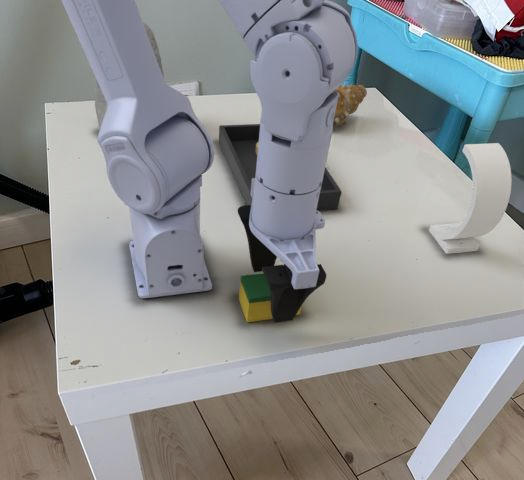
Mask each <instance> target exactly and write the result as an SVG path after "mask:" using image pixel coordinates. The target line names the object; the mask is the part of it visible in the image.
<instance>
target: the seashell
mask: <svg viewBox="0 0 524 480" xmlns="http://www.w3.org/2000/svg"><path fill="white" fill-rule="evenodd" d="M334 92H337V93H338V94H339V96H338V101H337V106H336V111H335V116H334V121H333V126H339V125H344V124H345V122H346V120H347V119H348V118H349V115H352V114H354V113H356V111H358V109H359V105H360V104H361V103H363V101H364V99H365V97H366V96H367V94H368V92H367V88H366V87H365V86H364V85H362V84H357V85H355V84H348V85H346V84H341V85H340V86H339V87H338V88H337V89H336V90H335V91H334Z"/></svg>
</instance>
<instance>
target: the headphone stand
mask: <svg viewBox="0 0 524 480" xmlns="http://www.w3.org/2000/svg"><path fill="white" fill-rule="evenodd" d="M461 152H462V153H463V154H464V156H465V158H466V159H467V161H468V164H469V167H470V171H471V178H472V179H471V180H472V192H471V199H470V203H469V206H468V210H467V212H466V215H465V216H464V218H463V220H462V221H461V222H452V223H451V222H450V223H439V224H430V226H429V228H428V232H429V234H431V236H432V237H433V238H434V240H435V241H436V242H437V244H438V245H439V247H440V248H441V249H442V250H443V252H444V253H445V254H446V255H449V254H459V253H460V254H461V253H469V252H477V251H479V248H480V244H479V243H478V242H477V240H476V239H475V238H479V237H483V236H485V235H487V234H489V233H490V232H491V231H493V230H494V229H495V228H496V227H497V225H498V224H499V223H500V221H502V218H503V217H504V215H505V213H506V211H507V208H508V205H509V201H510V197H511V192H512V169H511V168H512V167H511V164H510V160H509V157H508V155H507V153H506V151H505V149H504V148H503V146H502V145H501V144H500V143H499V142H493V143H489V142H487V143H466V144H464V146H463V148H462V151H461Z"/></svg>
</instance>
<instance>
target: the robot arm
mask: <svg viewBox="0 0 524 480" xmlns="http://www.w3.org/2000/svg"><path fill="white" fill-rule="evenodd" d="M60 1H61V3H62V5H63V8H64V10H65V12H66V15H67V16H68V18H69V21H70V24H71V25H72V28H73V30H74V32H75V35H76V37H77V39H78V41H79V44H80V46H81V47H82V48H81V49H82V51H83V52H84V55H85V57H86V59H87V62H88V64H89V66H90V68H91V71H92V73H93V76H94V75H95V77H96V79H97V81H98V84H99V86H100V88H101V90H102V93H103V95H104V97H105V99H106V102H107V110H106V113H105V116H104V119H103V122H102V125H101V128H100V130H98V134H97V143H98V145H99V147H100V149H101V151H102V154H103V157H104V160H105V167H106V174H107V178H108V180H109V184H110V186H111V188H112V190H113V192H114V193H115V194H116V196H117V197H118V199H119V200H120V201H121V202H123V204H124V205H125V206H126V207H129V217H130V224H131V230H132V231H131V232H132V240H131V241H129V243H128V247H129V251H130V252H129V253H130V257H131V262H132V268H133V275H134V279H135V285H136V290H137V296H138V298H140V299H150V298H158V297H168V296H174V295H175V296H176V295H182V294H190V293H191V294H192V293H199V292H207V291H211V290H212V289H213V284H212V281H211V277H210V274H209V270H208V268H207V264H206V261H205V259H204V251H205V250H204V248H205V247H204V242H203V240H202V239H203V238H202V236H201V187H202V186H203V174H205V173H206V172H208V171H209V169H210V168H211V167H212V164H213V162H214V158H215V148H214V143H213V141H212V137H211V136H210V133H209V131H208V130H207V128H206V127H205V126H204V125H203V123H202V122H201V121H200V120H199V119H198V116H197V115H196V113H195V111H194V108H193V107H192V104H191V101H190V98H189V97H188V96H187V95H185V94H184V93H182V92H181V91H179V90H178V89H175V88H174V87H172V86H170V85H169V84H167V83H166V81H165V77H164V78H163V75H162V73H161V70H160V67H159V65H158V62H157V59H156V57H155V54H154V51H153V49H152V46H151V43H150V41H149V38H148V35H147V32H146V30H145V27H144V24H143V23H144V22H143V19H142V17H141V14H140V11H139V9H138V6H137V3H136V0H60ZM218 2H219V3H220V5H221V6H222V8H223V9H224V11H225V13H226V15H227V16H228V18H229V19H230V20H231V22H232V24H233V26H234V27H235V28H236V30H237V32H238V33H239V35H240V36H241V38H242V40H243V42H244V43H245V44H246V46H247V47H248V50H250V52H251V53H252V54H253V56H254V58H253V59H250V61H249V74H250V79H251V80H250V81H251V83H252V87H253V89H254V91H255V93H256V95H257V97H258V99H259V101H260V105H261V114H260V122H259V124H260V132H259V143H258V154H257V165H256V175H255V178H252V183H251V194H250V195H251V197H252V204H251V205H246V204H245V205H242V206H241V205H240V207H238V208H237V215H238V216H239V219H240V221H241V223H242V225H243V228H244V231H245V234H246V239H247V245H248V251H249V259H250V264H251V268H252V271H253V273H254V274H256V273H263V274H264V276H265V279H266V281H267V283H268V285H269V289H270V295H271V314H272V318H273V319H272V320H273V323H275V324H276V323H277V324H278V323H283V322H289V321H293V320H294V319H295V317H296V316H297V315H296V314H297V312H298V310H299V309H300V307H301V305H302V306H303V304H304V302H306V300H307V298H309V296H310V295H311V294H313V293H314V292H315V291H316V290H318V289H319V288H320V287H322V286H323V285H324V284H325V283H326V280H327V273H326V271H325V269H324V267H323V264H322V263H319V264H318V263H317V257H316V235H317V234H316V231H317V230H321V229H324V227H325V226H326V225H325V224H326V219H325V217H324V216H323V214H322V213H321V212H320V211H316V209H317V204H318V199H319V194H320V190H321V185H322V181H323V176H324V171H325V167H326V166H327V160H328V156H329V152H330V151H329V150H330V146H331V140H332V136H333V131H334V125H333V121H334V116H335V111H336V106H337V101H338V96H339V94H338V93H337V92H334V91H335V90H336V89H337V88H338V87H339V86H340V85H343V84H344V83H345V81H346V80H347V79H348V77H350V75H351V73H352V72H353V70H354V68H355V65H356V62H357V59H358V50H359V49H358V48H359V47H358V46H359V44H358V36H357V33H356V30H355V27H354V25H353V23H352V17H351V14H350V13H349V12H348V10H346V8H344V7H343V6H341V5H340V4H338V3H336V2H334V1H331V0H218ZM95 77H94V78H95ZM277 258H278V259H279V261H281V262H282V263H283V264H276V261H277Z"/></svg>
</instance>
